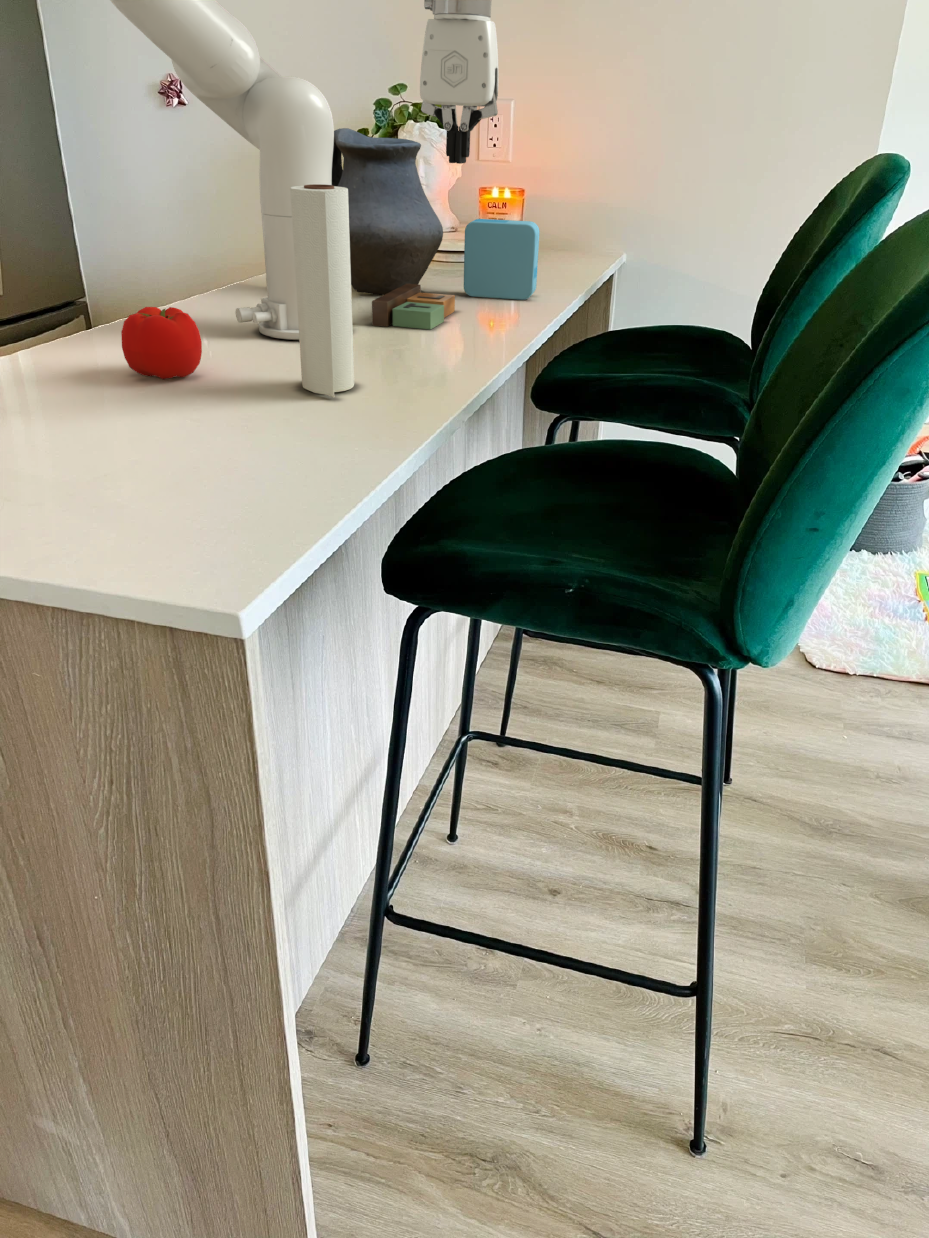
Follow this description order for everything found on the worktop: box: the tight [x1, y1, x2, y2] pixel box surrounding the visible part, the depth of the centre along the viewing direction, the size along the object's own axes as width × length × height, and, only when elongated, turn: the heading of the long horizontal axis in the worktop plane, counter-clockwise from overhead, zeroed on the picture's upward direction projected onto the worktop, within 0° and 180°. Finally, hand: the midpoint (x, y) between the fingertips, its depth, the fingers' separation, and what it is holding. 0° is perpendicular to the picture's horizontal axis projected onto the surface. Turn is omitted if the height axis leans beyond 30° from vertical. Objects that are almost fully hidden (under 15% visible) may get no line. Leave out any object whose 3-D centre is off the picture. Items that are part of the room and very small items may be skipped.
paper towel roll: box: [290, 184, 355, 398], centre depth 104 cm, size 7×6×21 cm
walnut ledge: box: [371, 283, 422, 327], centre depth 146 cm, size 16×2×4 cm, turn 165°
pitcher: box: [332, 127, 444, 296], centre depth 159 cm, size 21×22×25 cm
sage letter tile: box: [392, 302, 445, 331], centre depth 141 cm, size 6×6×3 cm
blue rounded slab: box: [463, 218, 540, 301], centre depth 160 cm, size 12×4×12 cm, turn 78°
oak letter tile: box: [407, 292, 456, 319], centre depth 148 cm, size 6×6×3 cm
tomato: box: [120, 306, 203, 380], centre depth 111 cm, size 9×9×8 cm
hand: (457, 162), depth 133 cm, fingers closed
